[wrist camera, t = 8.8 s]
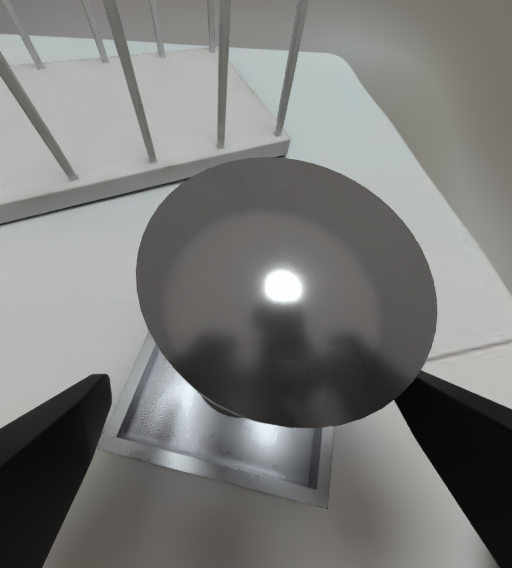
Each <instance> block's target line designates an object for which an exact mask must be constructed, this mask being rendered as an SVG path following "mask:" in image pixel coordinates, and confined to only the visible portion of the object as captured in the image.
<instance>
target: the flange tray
mask: <svg viewBox="0 0 512 568" xmlns="http://www.w3.org/2000/svg"><path fill="white" fill-rule="evenodd" d="M333 434H334V426H330V427H322V428H288V427H282V426H277V425H271V424H266V423H260V422H255V421H252V420H249V419H246V418H235V417H230V416H226V415H223V414H221V413H219V412H217V411H216V410H214V409H213V408H212V407H210V406H209V405H208V404H207V403H206V402H205V400H204V399H203V398H202V397H201V395H200V394H199V393H198V392H197V391H196V390H195V389H194V388H193V387H192V386H191V385H190V384H188V383H187V382H186V381H185V380H184V379H183V378H182V377H181V376H180V375H179V374H178V373H177V371H176V370H175V369H174V368H173V367H172V365H171V364H170V363H169V362H168V360H167V359H166V358H165V356H164V355H163V354H162V353H161V351H160V350H159V348H158V346H157V344H156V343H155V341H154V339H153V337H152V336H151V334H150V332H149V333H148V335H147V337H146V339H145V342H144V344H143V346H142V348H141V351H140V353H139V355H138V357H137V360H136V362H135V364H134V366H133V369H132V371H131V373H130V375H129V378H128V380H127V382H126V384H125V387H124V389H123V391H122V393H121V396H120V398H119V400H118V402H117V405H116V407H115V409H114V411H113V414H112V416H111V418H110V420H109V423H108V425H107V427H106V429H105V432H104V434H103V436H102V438H101V441H100V443H99V445H98V447H97V449H99V450H103V451H107V452H111V453H115V454H119V455H122V456H126V457H130V458H134V459H138V460H141V461H145V462H149V463H153V464H157V465H161V466H164V467H168V468H172V469H176V470H180V471H183V472H187V473H191V474H195V475H199V476H203V477H206V478H210V479H214V480H218V481H222V482H225V483H229V484H233V485H237V486H241V487H245V488H248V489H252V490H256V491H260V492H264V493H267V494H271V495H275V496H279V497H283V498H287V499H290V500H294V501H298V502H302V503H306V504H309V505H313V506H317V507H321V508H325V509H328V498H329V485H330V473H331V460H332V447H333Z"/></svg>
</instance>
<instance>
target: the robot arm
mask: <svg viewBox="0 0 512 568" xmlns="http://www.w3.org/2000/svg"><path fill="white" fill-rule="evenodd" d="M394 400H395V402H396V404H397V406H398V408H399V410H400V412H401V413H402V415H403V417H404V419H405V421H406V423H407V425H408V426H409V428H410V430H411V432H412V434H413V435H414V437H415V439H416V440H417V442H418V444H419V445H420V447H421V448H422V450H423V451H424V453H425V454H426V456H427V457H428V459H429V460H430V462H431V463H432V465H433V467H434V468H435V470H436V471H437V473H438V474H439V476H440V477H441V479H442V480H443V482H444V483H445V485H446V486H447V488H448V489H449V491H450V492H451V494H452V496H453V497H454V499H455V500H456V502H457V503H458V505H459V506H460V508H461V509H462V511H463V512H464V514H465V515H466V517H467V518H468V520H469V521H470V523H471V525H472V526H473V528H474V529H475V531H476V532H477V534H478V535H479V537H480V538H481V540H482V541H483V543H484V544H485V546H486V547H487V549H488V550H489V552H490V554H491V555H492V557H493V558H494V560H495V561H496V563H497V564H498V566H499V567H500V568H512V409H510V408H507V407H505V406H503V405H500V404H498V403H496V402H493V401H491V400H489V399H486V398H484V397H482V396H479V395H477V394H475V393H472V392H470V391H468V390H466V389H463V388H461V387H459V386H456V385H454V384H452V383H449V382H447V381H445V380H442V379H440V378H438V377H435V376H433V375H431V374H428V373H426V372H424V371H422V370H420V372H419V373H418V375H417V376H416V378H415V379H414V381H413V382H412V383H411V384H410V385H409V386H408V387H407V388H406V389H405V390H404V391H403V392H402V393H401V394H400V396H398V397H397V398H396V399H394ZM111 404H112V393H111V386H110V378H109V376H108V375H107V374H92V375H90V376H88V377H87V378H85V379H83V380H82V381H80V382H78V383H76V384H75V385H73V386H71V387H70V388H68V389H66V390H65V391H63V392H61V393H60V394H58V395H56V396H55V397H53V398H51V399H49V400H48V401H46V402H44V403H43V404H41V405H39V406H38V407H36V408H34V409H33V410H31V411H29V412H27V413H26V414H24V415H22V416H21V417H19V418H17V419H16V420H14V421H12V422H11V423H9V424H7V425H6V426H4V427H2V428H0V568H42V567H43V565H44V562H45V560H46V558H47V556H48V554H49V552H50V550H51V547H52V545H53V543H54V541H55V539H56V537H57V535H58V532H59V530H60V528H61V526H62V524H63V522H64V520H65V517H66V515H67V513H68V511H69V509H70V507H71V504H72V502H73V500H74V498H75V496H76V494H77V492H78V489H79V487H80V485H81V483H82V481H83V479H84V477H85V474H86V472H87V470H88V468H89V465H90V463H91V461H92V458H93V456H94V453H95V450H96V447H97V444H98V442H99V439H100V436H101V433H102V430H103V427H104V424H105V422H106V419H107V416H108V413H109V410H110V407H111Z"/></svg>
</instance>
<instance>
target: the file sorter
mask: <svg viewBox="0 0 512 568" xmlns="http://www.w3.org/2000/svg"><path fill="white" fill-rule="evenodd" d="M81 1H82V3H83V6H84V9H85V12H86V15H87V18H88V21H89V23H90V27H91V30H92V33H93V36H94V39H95V41H96V44H97V47H98V50H99V53H100V56H101V58H91V59H79V60H68V61H56V62H46V63H42V62H41V60H40V58H39V56H38V54H37V52H36V50H35V48H34V46H33V44H32V42H31V40H30V38H29V36H28V34H27V32H26V31H25V28H24V26H23V25H22V22H21V21H20V19H19V17H18V15H17V13H16V11H15V9H14V7H13V5H12V3H11V1H10V0H2V2H3V4H4V6H5V8H6V10H7V11H8V13H9V15H10V17H11V19H12V21H13V23H14V25H15V27H16V28H17V30H18V32H19V34H20V36H21V38H22V40H23V42H24V44H25V45H26V47H27V49H28V51H29V53H30V55H31V57H32V58H33V60H34V62H35V63H34V64H22V65H10V66H9V65H8V63H7V61H6V60H5V58H4V57H3V55H2V53H1V52H0V224H1V223H5V222H9V221H13V220H17V219H21V218H25V217H29V216H33V215H38V214H42V213H46V212H50V211H54V210H58V209H62V208H66V207H70V206H74V205H78V204H82V203H86V202H91V201H95V200H99V199H103V198H107V197H111V196H115V195H120V194H124V193H128V192H132V191H136V190H140V189H144V188H149V187H153V186H157V185H161V184H165V183H169V182H173V181H177V180H181V179H185V178H189V177H193V176H194V175H196V174H198V173H200V172H202V171H204V170H206V169H208V168H211V167H214V166H217V165H219V164H222V163H226V162H230V161H234V160H240V159H247V158H258V157H277V156H281V155H285V154H287V152H288V148H289V143H290V136H289V135H288V134H287V133H286V131H285V130H284V129H283V125H284V120H285V115H286V110H287V105H288V100H289V96H290V91H291V86H292V82H293V77H294V72H295V67H296V62H297V57H298V52H299V47H300V41H301V37H302V32H303V27H304V22H305V18H306V13H307V8H308V3H309V0H298V4H297V11H296V16H295V22H294V28H293V33H292V39H291V44H290V50H289V55H288V61H287V66H286V72H285V78H284V84H283V89H282V93H281V99H280V105H279V111H278V117H277V120H276V119H275V118H274V116H273V115H272V114H271V113H270V111H269V110H268V109H267V108H266V106H265V105H264V104H263V103H262V101H261V100H260V99H259V98H258V97H257V95H256V94H255V93H254V92H253V90H252V89H251V88H250V87H249V85H248V84H247V83H246V82H245V80H244V79H243V78H242V77H241V75H240V74H239V73H238V72H237V70H236V69H235V68H234V67H233V66H232V64H231V63H230V62H229V61H228V54H229V32H230V31H229V30H230V4H231V0H219V49H218V48H217V47H215V32H214V31H215V30H214V0H207V3H208V26H209V48H201V49H191V50H180V51H169V52H164V47H163V41H162V35H161V29H160V23H159V17H158V11H157V5H156V0H149V3H150V8H151V13H152V19H153V25H154V31H155V36H156V42H157V47H158V53H147V54H136V55H130V54H129V50H128V46H127V42H126V38H125V35H124V31H123V27H122V23H121V19H120V15H119V11H118V7H117V3H116V0H103V4H104V7H105V10H106V14H107V18H108V21H109V24H110V28H111V31H112V35H113V38H114V42H115V45H116V48H117V52H118V55H119V56H113V57H107V55H106V52H105V49H104V46H103V43H102V39H101V36H100V33H99V31H98V28H97V25H96V21H95V18H94V15H93V12H92V9H91V6H90V3H89V0H81Z"/></svg>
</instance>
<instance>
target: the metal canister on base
mask: <svg viewBox="0 0 512 568" xmlns="http://www.w3.org/2000/svg"><path fill="white" fill-rule="evenodd" d="M136 282H137V293H138V298H139V303H140V308H141V312H142V314H143V317H144V319H145V322H146V325H147V327H148V330H149V332H150V334H151V336H152V337H153V339H154V341H155V343H156V344H157V346H158V348H159V350H160V351H161V353H162V354H163V355H164V356H165V358H166V359H167V360H168V362H169V363H170V364H171V365H172V367H173V368H174V369H175V370H176V371H177V373H178V374H179V375H180V376H181V377H182V378H183V379H184V380H185V381H186V382H187V383H188V384H190V385H191V386H192V387H193V388H194V389H195V390H196V391H197V392H198V393H199V394H200V395H201V397H202V398H203V399H204V400H205V402H206V403H207V404H208V405H209V406H210V407H212V408H213V409H214V410H216V411H217V412H219V413H221V414H223V415H226V416H230V417H235V418H246V419H249V420H252V421H255V422H260V423H266V424H271V425H277V426H282V427H288V428H322V427H330V426H337V425H342V424H345V423H349V422H352V421H355V420H359V419H362V418H364V417H366V416H368V415H370V414H372V413H374V412H376V411H378V410H380V409H382V408H383V407H385V406H386V405H387V404H389V403H390V402H392V401H393V400H394V399H396V398H397V397H398V396H400V394H401V393H402V392H403V391H404V390H405V389H406V388H407V387H408V386H409V385H410V384H411V383H412V382H413V381H414V379H415V378H416V376H417V375H418V373H419V372H420V370H421V369H422V367H423V366H424V363H425V361H426V359H427V357H428V354H429V352H430V350H431V347H432V343H433V339H434V335H435V331H436V322H437V298H436V292H435V286H434V281H433V277H432V274H431V271H430V268H429V265H428V262H427V260H426V258H425V256H424V254H423V251H422V249H421V247H420V246H419V244H418V242H417V241H416V239H415V237H414V236H413V234H412V233H411V231H410V230H409V229H408V227H407V226H406V225H405V223H404V222H403V221H402V220H401V219H400V218H399V217H398V215H397V214H396V213H395V212H394V211H393V210H392V209H391V208H390V207H389V206H388V205H387V204H385V203H384V202H383V201H382V200H381V199H380V198H379V197H377V196H376V195H375V194H373V193H372V192H371V191H369V190H368V189H367V188H365V187H363V186H362V185H360V184H359V183H357V182H355V181H354V180H352V179H350V178H348V177H346V176H344V175H342V174H340V173H338V172H335V171H333V170H330V169H328V168H325V167H322V166H319V165H316V164H313V163H308V162H304V161H300V160H294V159H287V158H275V157H258V158H247V159H240V160H234V161H230V162H226V163H222V164H219V165H217V166H214V167H211V168H208V169H206V170H204V171H202V172H200V173H198V174H196V175H194V176H193V177H191V178H190V179H188V180H187V181H185V182H184V183H182V184H181V185H179V186H178V187H177V188H176V189H175V190H174V191H173V192H171V193H170V194H169V195H168V196H167V197H166V199H165V200H164V201H163V202H162V203H161V204H160V205H159V207H158V208H157V210H156V211H155V213H154V214H153V216H152V217H151V219H150V221H149V223H148V225H147V227H146V229H145V232H144V234H143V236H142V240H141V244H140V247H139V251H138V257H137V266H136Z"/></svg>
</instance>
